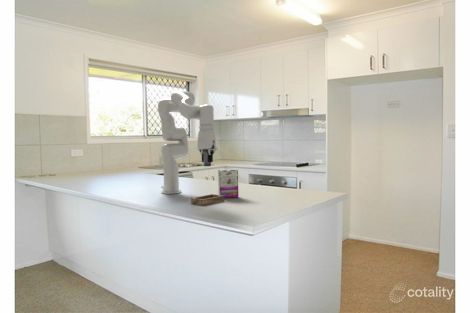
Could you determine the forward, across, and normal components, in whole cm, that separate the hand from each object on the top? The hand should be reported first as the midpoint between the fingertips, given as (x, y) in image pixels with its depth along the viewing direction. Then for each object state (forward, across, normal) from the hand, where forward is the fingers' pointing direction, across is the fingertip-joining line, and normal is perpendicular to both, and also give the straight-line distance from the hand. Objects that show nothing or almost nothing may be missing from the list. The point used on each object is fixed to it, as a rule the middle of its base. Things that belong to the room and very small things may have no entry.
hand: (207, 161), depth 186 cm
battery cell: (+2, 0, 0) cm, 2 cm away
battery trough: (+22, 0, 0) cm, 22 cm away
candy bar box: (+22, -1, +18) cm, 29 cm away
